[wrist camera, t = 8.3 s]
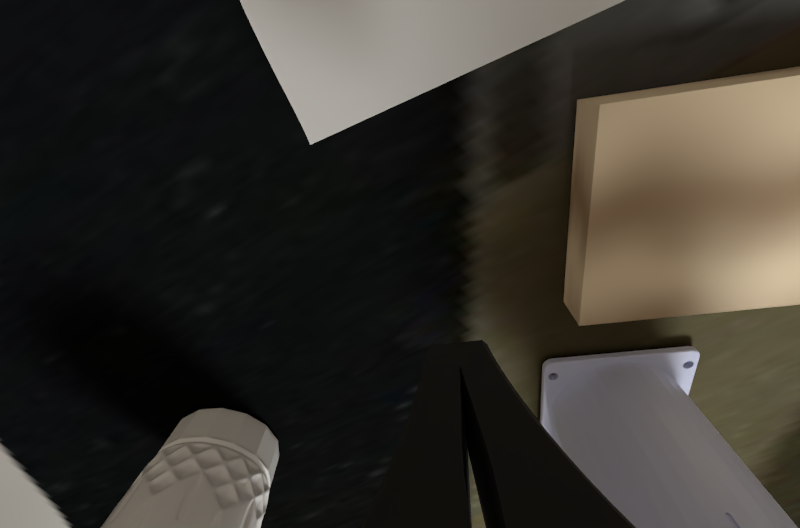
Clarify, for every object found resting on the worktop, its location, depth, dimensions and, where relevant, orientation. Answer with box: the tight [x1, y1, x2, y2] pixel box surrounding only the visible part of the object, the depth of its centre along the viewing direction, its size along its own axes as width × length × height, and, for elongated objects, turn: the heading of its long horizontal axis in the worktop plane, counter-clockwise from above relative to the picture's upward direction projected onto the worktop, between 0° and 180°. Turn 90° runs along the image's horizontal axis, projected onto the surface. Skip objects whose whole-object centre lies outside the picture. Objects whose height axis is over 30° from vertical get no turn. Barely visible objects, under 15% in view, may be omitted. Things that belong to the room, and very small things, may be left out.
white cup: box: [101, 408, 279, 528], centre depth 21 cm, size 8×8×10 cm
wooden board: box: [563, 66, 800, 326], centre depth 15 cm, size 10×13×2 cm
